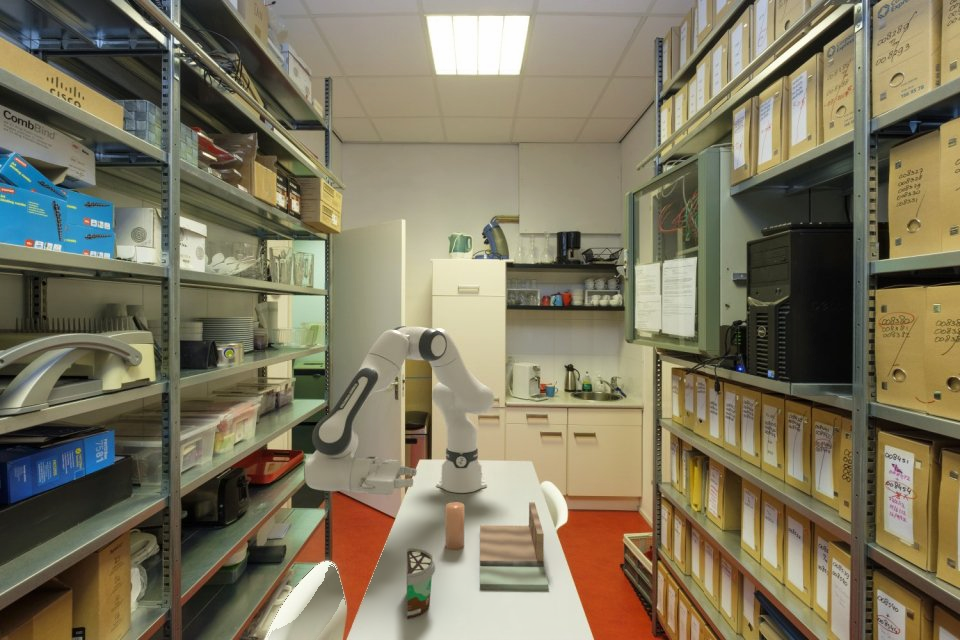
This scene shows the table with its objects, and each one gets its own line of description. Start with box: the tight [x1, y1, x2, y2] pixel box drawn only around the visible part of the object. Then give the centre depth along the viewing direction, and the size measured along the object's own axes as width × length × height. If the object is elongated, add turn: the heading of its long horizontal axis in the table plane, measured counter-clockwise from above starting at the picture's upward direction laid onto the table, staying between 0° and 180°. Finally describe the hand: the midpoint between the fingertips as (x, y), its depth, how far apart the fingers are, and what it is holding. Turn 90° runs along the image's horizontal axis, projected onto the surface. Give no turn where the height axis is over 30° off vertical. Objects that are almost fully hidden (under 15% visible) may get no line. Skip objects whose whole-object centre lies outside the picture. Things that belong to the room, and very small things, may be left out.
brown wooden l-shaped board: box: [479, 501, 549, 591], centre depth 124 cm, size 29×16×9 cm, turn 0°
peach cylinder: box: [445, 501, 465, 551], centre depth 131 cm, size 5×5×11 cm
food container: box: [406, 547, 436, 620], centre depth 104 cm, size 12×6×10 cm, turn 9°
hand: (414, 477), depth 130 cm, fingers open, 8 cm apart
